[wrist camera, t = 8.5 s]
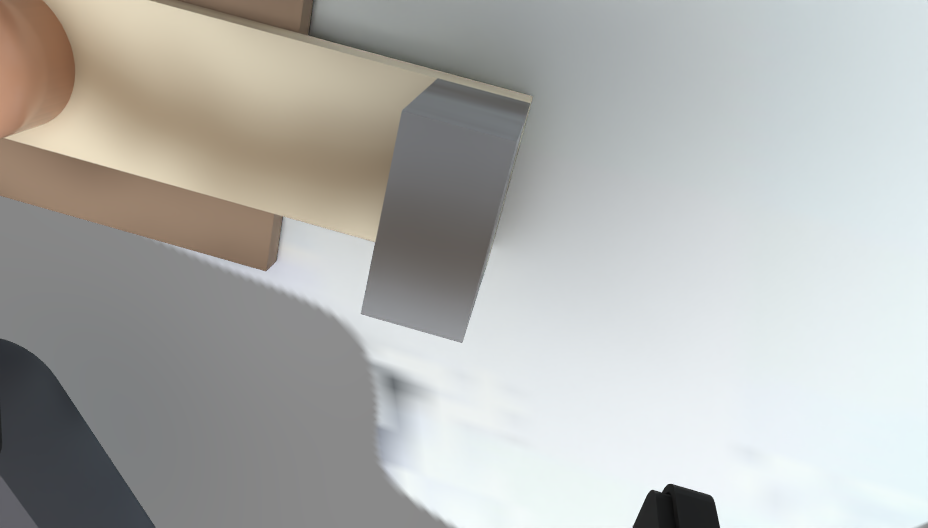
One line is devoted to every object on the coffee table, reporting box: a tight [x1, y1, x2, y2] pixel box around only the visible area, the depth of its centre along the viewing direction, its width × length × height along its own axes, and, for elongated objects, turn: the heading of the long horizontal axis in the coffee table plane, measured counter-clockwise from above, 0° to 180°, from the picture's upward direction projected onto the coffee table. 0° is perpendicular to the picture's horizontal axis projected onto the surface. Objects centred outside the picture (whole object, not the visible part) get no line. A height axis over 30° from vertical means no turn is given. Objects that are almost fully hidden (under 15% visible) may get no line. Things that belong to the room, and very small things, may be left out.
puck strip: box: [5, 0, 533, 343], centre depth 23 cm, size 6×22×6 cm, turn 77°
